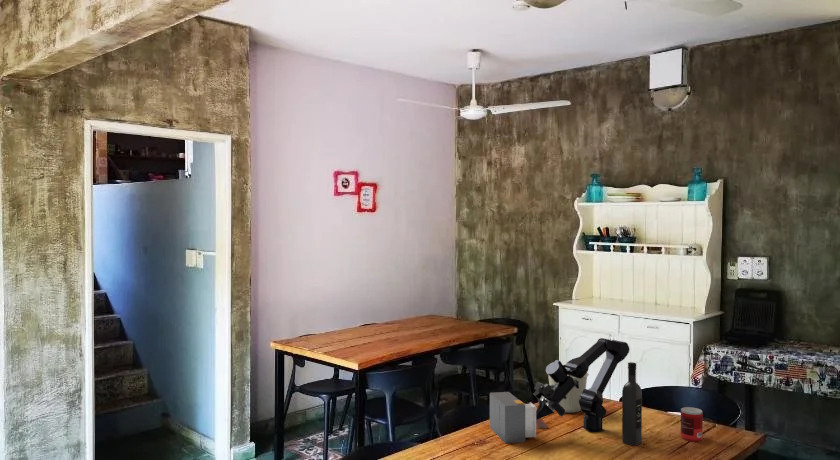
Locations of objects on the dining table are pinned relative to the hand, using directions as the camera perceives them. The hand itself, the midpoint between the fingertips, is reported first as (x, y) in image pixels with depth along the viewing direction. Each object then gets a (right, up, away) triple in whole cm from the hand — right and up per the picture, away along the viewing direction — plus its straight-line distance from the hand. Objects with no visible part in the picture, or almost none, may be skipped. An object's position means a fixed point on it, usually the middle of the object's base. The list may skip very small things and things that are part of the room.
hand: (534, 419), depth 239 cm
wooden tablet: (+3, -8, +24) cm, 25 cm away
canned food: (+60, -8, 0) cm, 61 cm away
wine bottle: (+36, -8, -5) cm, 37 cm away
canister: (+22, -7, +38) cm, 44 cm away
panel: (-4, -6, -1) cm, 7 cm away
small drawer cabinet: (-10, -7, +4) cm, 13 cm away
